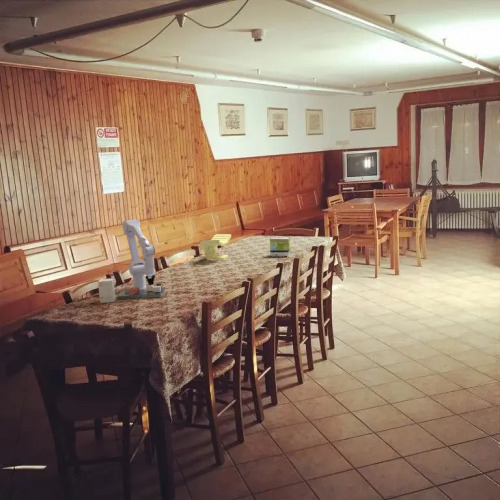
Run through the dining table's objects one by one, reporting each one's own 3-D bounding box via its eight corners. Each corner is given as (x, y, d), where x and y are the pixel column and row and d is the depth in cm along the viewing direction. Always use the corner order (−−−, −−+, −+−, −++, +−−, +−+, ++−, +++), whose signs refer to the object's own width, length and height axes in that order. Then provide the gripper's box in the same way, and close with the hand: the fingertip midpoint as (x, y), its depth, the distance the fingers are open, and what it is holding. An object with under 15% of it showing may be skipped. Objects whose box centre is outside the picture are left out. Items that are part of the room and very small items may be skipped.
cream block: (147, 289, 326) (147, 285, 326) (154, 289, 326) (153, 284, 326) (146, 291, 324) (146, 286, 323) (153, 290, 323) (152, 285, 323)
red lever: (138, 291, 323) (137, 286, 323) (140, 292, 321) (139, 286, 321) (124, 294, 318) (123, 288, 317) (125, 294, 316) (125, 289, 315)
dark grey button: (156, 287, 327) (156, 283, 327) (161, 287, 327) (161, 283, 327) (155, 288, 324) (155, 284, 324) (160, 288, 324) (160, 284, 324)
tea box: (270, 257, 428) (269, 238, 426) (271, 254, 438) (271, 236, 436) (288, 256, 426) (288, 238, 423) (290, 254, 435) (289, 236, 433)
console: (123, 293, 330) (122, 287, 329) (164, 292, 329) (164, 285, 328) (117, 299, 316) (116, 292, 316) (160, 297, 316) (160, 291, 315)
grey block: (154, 291, 323) (154, 286, 322) (161, 290, 323) (160, 285, 322) (153, 292, 320) (153, 287, 319) (160, 292, 320) (159, 287, 319)
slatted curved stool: (214, 255, 447) (212, 234, 444) (232, 255, 442) (231, 234, 439) (201, 262, 419) (199, 240, 415) (220, 262, 414) (219, 240, 411)
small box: (115, 299, 316) (113, 278, 314) (114, 302, 310) (112, 280, 308) (101, 300, 316) (99, 278, 314) (99, 303, 310) (97, 281, 307)
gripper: (143, 264, 332) (145, 285, 334) (142, 268, 318) (144, 290, 320) (155, 263, 333) (156, 284, 335) (154, 267, 319) (155, 289, 321)
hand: (151, 287), depth 328 cm, fingers closed
